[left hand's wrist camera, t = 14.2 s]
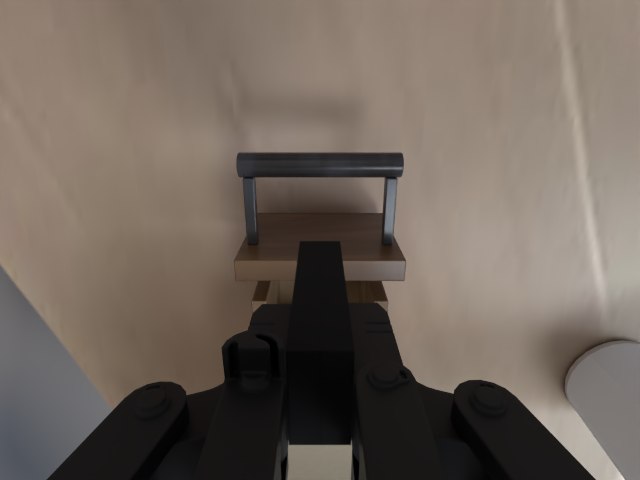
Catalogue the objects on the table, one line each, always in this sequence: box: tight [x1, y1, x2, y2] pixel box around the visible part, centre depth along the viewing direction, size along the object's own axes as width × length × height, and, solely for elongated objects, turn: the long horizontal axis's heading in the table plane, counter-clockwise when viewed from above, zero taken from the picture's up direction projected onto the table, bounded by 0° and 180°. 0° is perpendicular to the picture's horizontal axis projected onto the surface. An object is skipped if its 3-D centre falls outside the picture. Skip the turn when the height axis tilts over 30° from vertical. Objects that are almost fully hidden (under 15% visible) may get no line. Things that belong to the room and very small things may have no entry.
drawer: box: [234, 153, 406, 313], centre depth 26 cm, size 21×9×8 cm, turn 0°
